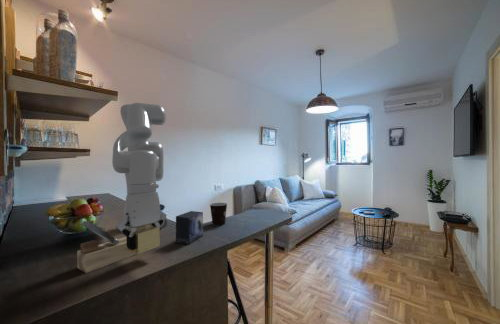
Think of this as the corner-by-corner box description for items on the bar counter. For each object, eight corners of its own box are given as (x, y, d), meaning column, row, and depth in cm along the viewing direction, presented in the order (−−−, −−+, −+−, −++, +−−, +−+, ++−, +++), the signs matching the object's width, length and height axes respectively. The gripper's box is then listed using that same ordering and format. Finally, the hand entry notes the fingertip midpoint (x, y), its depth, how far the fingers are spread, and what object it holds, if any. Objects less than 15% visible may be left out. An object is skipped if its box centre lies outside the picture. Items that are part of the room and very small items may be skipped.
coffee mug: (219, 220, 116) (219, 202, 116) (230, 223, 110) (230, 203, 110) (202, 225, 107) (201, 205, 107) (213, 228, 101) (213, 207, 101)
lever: (109, 242, 71) (80, 224, 64) (112, 238, 72) (84, 220, 65) (116, 245, 68) (87, 226, 62) (119, 241, 69) (91, 222, 63)
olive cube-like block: (138, 253, 63) (137, 233, 64) (127, 250, 67) (127, 230, 67) (159, 245, 70) (159, 227, 70) (148, 242, 73) (148, 225, 73)
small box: (189, 245, 81) (188, 217, 81) (175, 243, 83) (174, 216, 83) (204, 236, 91) (203, 211, 91) (190, 234, 93) (190, 210, 93)
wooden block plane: (77, 267, 64) (77, 241, 64) (146, 244, 83) (146, 223, 83) (86, 273, 61) (85, 244, 61) (156, 247, 80) (155, 225, 80)
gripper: (159, 186, 78) (160, 235, 77) (107, 191, 63) (108, 252, 63) (173, 186, 74) (174, 238, 74) (120, 193, 59) (121, 257, 59)
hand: (143, 244), depth 68 cm, fingers closed on olive cube-like block, 7 cm apart
